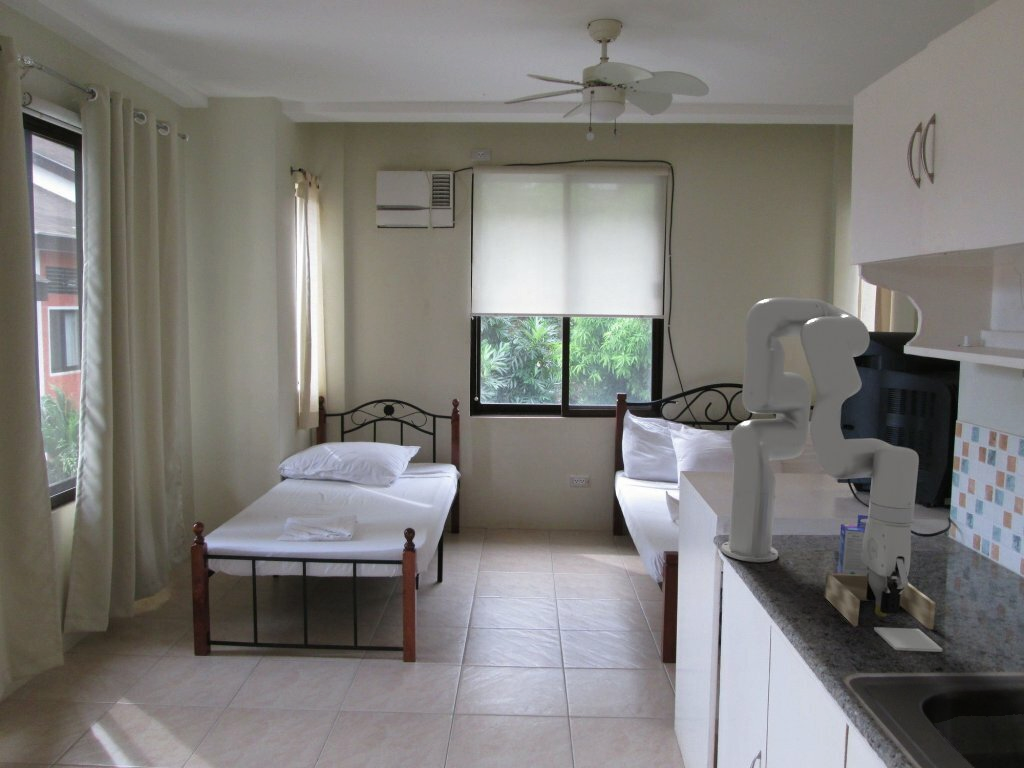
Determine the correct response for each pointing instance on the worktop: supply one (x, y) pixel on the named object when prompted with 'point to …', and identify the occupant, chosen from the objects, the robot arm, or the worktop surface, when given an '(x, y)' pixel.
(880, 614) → the light bulb
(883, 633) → the grey pad
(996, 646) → the worktop surface
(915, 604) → the u-shaped wooden frame
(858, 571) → the ink cartridge box
